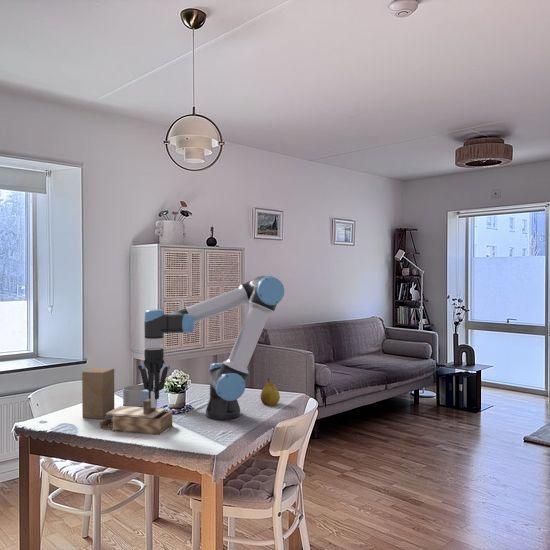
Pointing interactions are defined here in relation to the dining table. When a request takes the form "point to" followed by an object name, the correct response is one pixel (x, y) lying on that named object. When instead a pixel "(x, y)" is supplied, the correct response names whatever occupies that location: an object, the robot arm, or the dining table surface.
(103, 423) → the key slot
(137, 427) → the wooden box
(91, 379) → the wooden block
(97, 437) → the dining table surface
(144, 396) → the light blue block
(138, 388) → the planter
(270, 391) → the fruit
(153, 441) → the dining table surface
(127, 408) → the lid
